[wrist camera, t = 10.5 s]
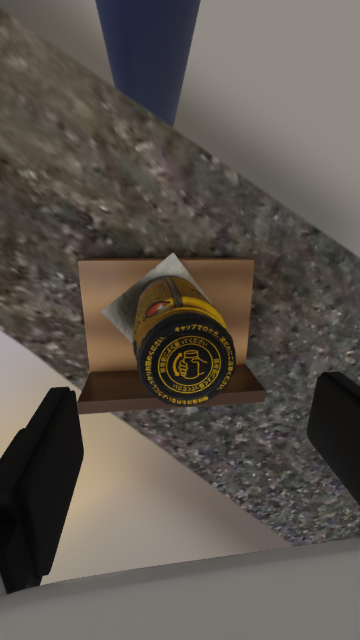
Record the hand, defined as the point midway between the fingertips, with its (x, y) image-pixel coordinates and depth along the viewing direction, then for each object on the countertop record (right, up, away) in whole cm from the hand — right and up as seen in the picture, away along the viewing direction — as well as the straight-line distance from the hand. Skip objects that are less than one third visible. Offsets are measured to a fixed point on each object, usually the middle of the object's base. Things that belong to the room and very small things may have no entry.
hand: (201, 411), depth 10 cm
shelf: (-2, +4, +18) cm, 18 cm away
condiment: (-3, +4, +15) cm, 16 cm away
